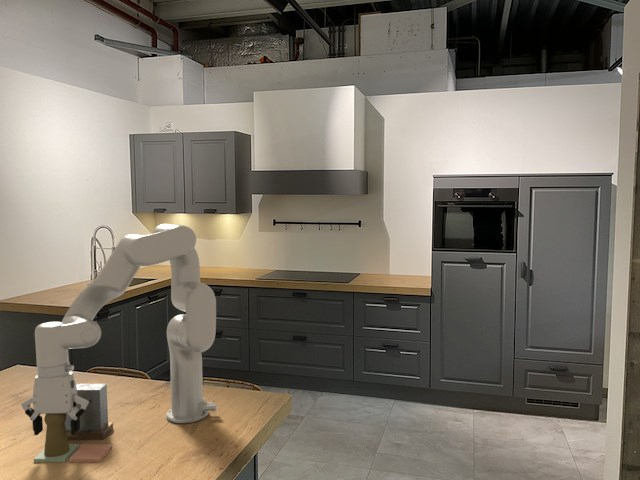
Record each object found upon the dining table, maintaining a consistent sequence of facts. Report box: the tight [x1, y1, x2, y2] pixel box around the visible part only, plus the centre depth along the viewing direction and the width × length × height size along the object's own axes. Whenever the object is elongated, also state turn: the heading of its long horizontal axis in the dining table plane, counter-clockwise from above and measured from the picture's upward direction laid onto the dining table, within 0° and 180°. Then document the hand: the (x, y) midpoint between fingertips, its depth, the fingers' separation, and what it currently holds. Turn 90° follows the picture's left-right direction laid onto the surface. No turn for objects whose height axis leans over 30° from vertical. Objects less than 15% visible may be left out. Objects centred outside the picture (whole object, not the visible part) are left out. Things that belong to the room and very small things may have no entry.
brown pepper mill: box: [43, 413, 70, 457], centre depth 142 cm, size 6×6×11 cm
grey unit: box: [64, 383, 114, 441], centre depth 154 cm, size 13×7×14 cm, turn 90°
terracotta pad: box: [68, 443, 113, 463], centre depth 143 cm, size 8×8×1 cm
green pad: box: [33, 444, 80, 463], centre depth 143 cm, size 8×8×1 cm
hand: (57, 432), depth 143 cm, fingers open, 9 cm apart
